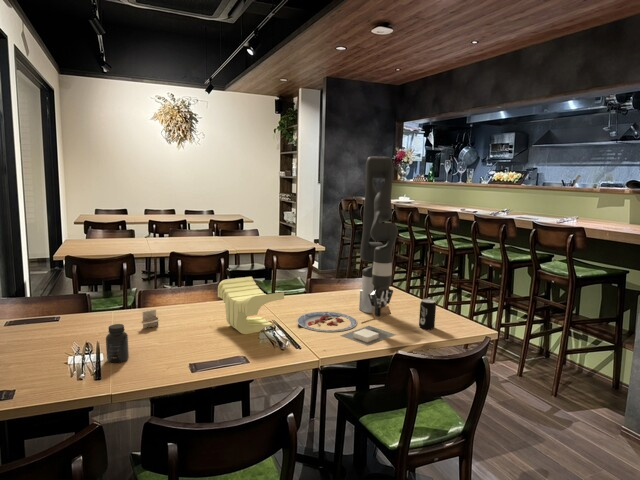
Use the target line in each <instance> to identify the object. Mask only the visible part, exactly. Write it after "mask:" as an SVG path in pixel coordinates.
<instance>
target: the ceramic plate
mask: <svg viewBox="0 0 640 480" xmlns="http://www.w3.org/2000/svg"><path fill="white" fill-rule="evenodd" d="M341 317H342V318H341ZM343 318H344V319H347V320H349V321H350V325H349V326H347V327H344V328H339V329H338V328H337V329H321V328H314V327H310V326H313V325H318V326H319V327H321V325H323V324H324V323H325V324H326V326H327V327H328V326H329V327H333V326H334V327H338V326H339V324H342V323H344V322H345V320H344V319H343ZM330 320H331V321H330ZM296 322H297V324H298V326H300V327H302V328H304V329H307V330H310V331H314V332H321V333H322V332H323V333H337V332H338V333H339V332H344V331H348V330H351V329H353V328H355V327H356V326H357V324H358V321H357V320H356V318H355V317H353V316H351V315H349V314H345V313H342V312H335V311H334V312H332V311H314V312H309V313H305V314H302V315H300V316H299V317H297V320H296Z"/></svg>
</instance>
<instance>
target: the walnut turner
mask: <svg viewBox="0 0 640 480" xmlns="http://www.w3.org/2000/svg"><path fill="white" fill-rule="evenodd" d="M371 314H372V316H373V317H372V318H369V319H368V320H364V321H362V322H361V323H360V324H361V325H363V324H366V323H369V322H372V321H375V320H379V319H381V318H385V317H387V316H390V315H392V312H391V309H390V306H389V305H386V306H385V307H382V308H381V311H380V317H377V316H375V310H374V311H372V313H371Z"/></svg>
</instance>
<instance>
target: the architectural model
mask: <svg viewBox="0 0 640 480" xmlns="http://www.w3.org/2000/svg"><path fill="white" fill-rule="evenodd" d="M159 322H160V319H159V317H158V316H157V309H156V308H155V309H151V310H143V311H142V320H140V321H139V323H140V324H142V329H147V327H148V328H151V327H152V328H153V327H154V328H155V327H158V326H159Z"/></svg>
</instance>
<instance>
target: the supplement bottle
mask: <svg viewBox="0 0 640 480" xmlns="http://www.w3.org/2000/svg"><path fill="white" fill-rule="evenodd" d="M105 348H106V361H107V362H108V363H110V364H113V365H114V364H115V365H116V364H122V363H124V362H127V361H128V360H129V358H130V354H129V353H130V351H129V350H130V349H129V335H128V333H127V332H126V331H125V324H122V323H114V324H110V325H109V326H108V334H107V335H106V337H105Z"/></svg>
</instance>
